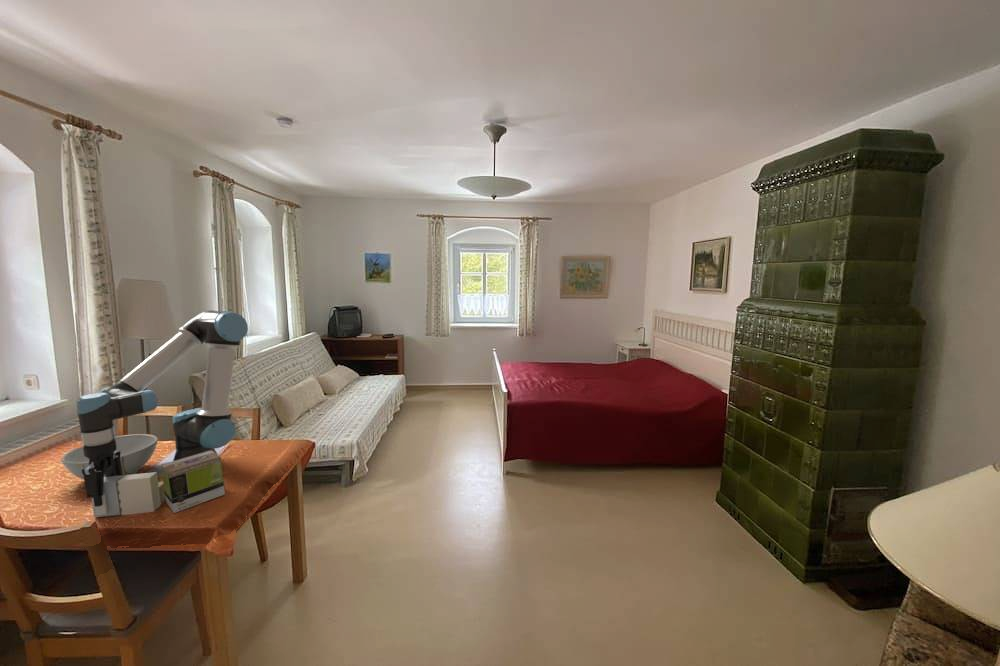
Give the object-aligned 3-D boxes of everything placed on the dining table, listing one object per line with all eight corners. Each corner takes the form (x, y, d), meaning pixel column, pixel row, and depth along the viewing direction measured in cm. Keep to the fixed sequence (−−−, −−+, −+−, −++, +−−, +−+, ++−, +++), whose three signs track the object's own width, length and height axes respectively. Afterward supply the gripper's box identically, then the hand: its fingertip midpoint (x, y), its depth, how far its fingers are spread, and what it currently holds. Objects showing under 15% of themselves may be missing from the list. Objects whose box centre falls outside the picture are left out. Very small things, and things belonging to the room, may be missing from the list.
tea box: (216, 486, 149) (212, 448, 147) (225, 495, 143) (221, 456, 141) (165, 503, 137) (160, 463, 135) (172, 514, 131) (167, 472, 129)
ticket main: (139, 500, 139) (134, 467, 138) (169, 497, 141) (165, 464, 140) (121, 515, 130) (116, 480, 129) (153, 511, 133) (149, 477, 131)
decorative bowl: (103, 498, 140) (98, 466, 139) (45, 490, 146) (40, 459, 144) (178, 464, 166) (174, 436, 165) (127, 458, 172) (123, 431, 170)
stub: (103, 510, 133) (98, 477, 131) (128, 507, 134) (123, 475, 133) (94, 517, 129) (89, 483, 127) (120, 514, 130) (115, 481, 129)
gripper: (105, 432, 136) (114, 495, 139) (61, 455, 118) (72, 527, 122) (131, 430, 138) (140, 492, 141) (91, 452, 120) (102, 523, 123)
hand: (108, 508), depth 131 cm, fingers open, 5 cm apart
